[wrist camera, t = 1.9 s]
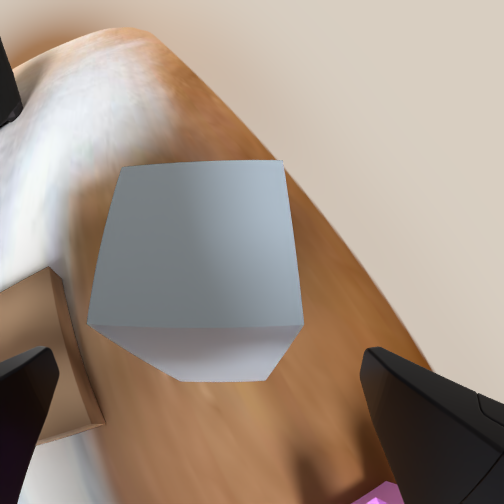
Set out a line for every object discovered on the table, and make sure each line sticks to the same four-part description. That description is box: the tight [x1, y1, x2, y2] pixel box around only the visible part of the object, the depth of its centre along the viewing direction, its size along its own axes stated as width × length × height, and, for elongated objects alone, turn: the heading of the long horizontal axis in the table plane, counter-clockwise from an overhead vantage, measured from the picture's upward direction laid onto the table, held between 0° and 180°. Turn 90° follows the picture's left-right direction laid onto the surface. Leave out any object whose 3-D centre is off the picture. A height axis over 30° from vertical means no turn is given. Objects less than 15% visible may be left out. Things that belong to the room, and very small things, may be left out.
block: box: [87, 160, 304, 382], centre depth 13 cm, size 5×5×12 cm
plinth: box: [0, 266, 106, 446], centre depth 15 cm, size 11×11×2 cm
